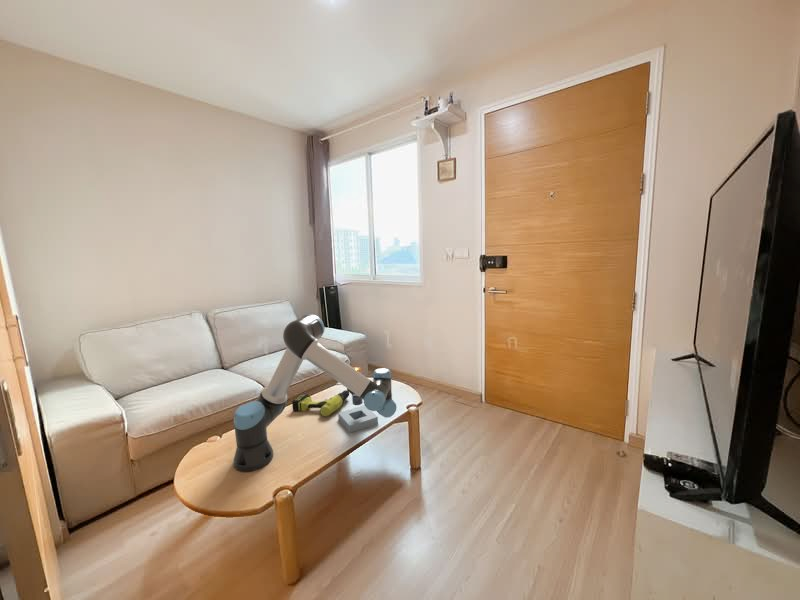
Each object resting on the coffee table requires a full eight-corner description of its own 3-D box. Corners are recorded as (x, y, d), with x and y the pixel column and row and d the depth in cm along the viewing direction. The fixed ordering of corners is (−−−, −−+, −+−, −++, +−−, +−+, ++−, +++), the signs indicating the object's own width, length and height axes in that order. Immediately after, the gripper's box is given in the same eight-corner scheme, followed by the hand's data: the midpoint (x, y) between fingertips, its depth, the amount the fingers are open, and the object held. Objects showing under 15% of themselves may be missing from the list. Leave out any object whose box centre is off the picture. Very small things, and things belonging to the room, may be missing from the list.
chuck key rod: (355, 406, 161) (353, 371, 158) (351, 402, 165) (349, 368, 162) (364, 403, 164) (362, 369, 161) (360, 399, 168) (358, 366, 165)
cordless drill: (318, 391, 201) (353, 398, 192) (291, 412, 178) (330, 420, 169) (317, 381, 199) (353, 386, 190) (290, 400, 177) (329, 407, 168)
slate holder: (350, 432, 156) (349, 425, 155) (338, 419, 168) (338, 412, 168) (377, 423, 164) (377, 416, 163) (364, 411, 176) (364, 405, 176)
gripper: (355, 409, 144) (336, 391, 163) (390, 399, 153) (368, 382, 172) (354, 393, 142) (335, 376, 162) (389, 383, 152) (367, 369, 171)
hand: (352, 379), depth 167 cm, fingers closed on chuck key rod, 5 cm apart
